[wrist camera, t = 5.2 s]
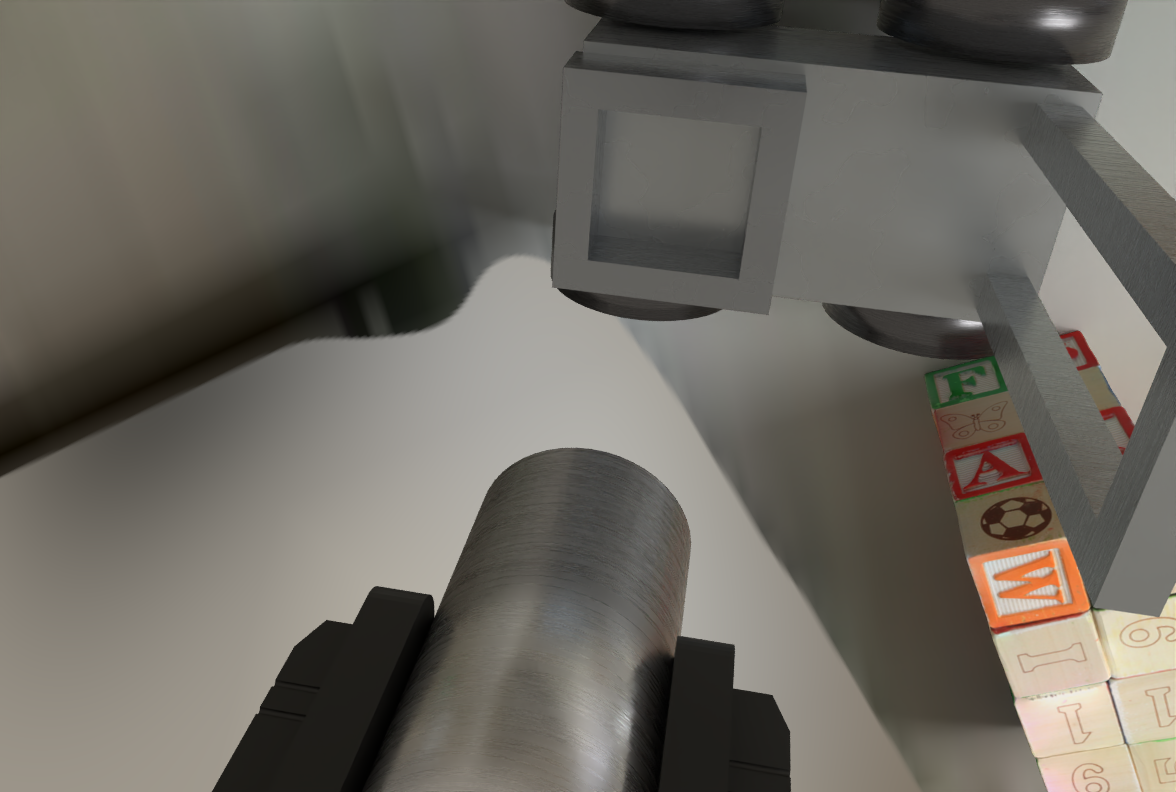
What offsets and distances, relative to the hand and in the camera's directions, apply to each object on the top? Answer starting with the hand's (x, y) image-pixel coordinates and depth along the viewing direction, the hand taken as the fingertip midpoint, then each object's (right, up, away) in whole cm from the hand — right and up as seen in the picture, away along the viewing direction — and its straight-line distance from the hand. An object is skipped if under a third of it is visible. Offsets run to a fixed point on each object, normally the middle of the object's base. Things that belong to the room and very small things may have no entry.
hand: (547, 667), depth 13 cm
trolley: (+8, +14, +24) cm, 29 cm away
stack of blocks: (+21, -3, +32) cm, 39 cm away
